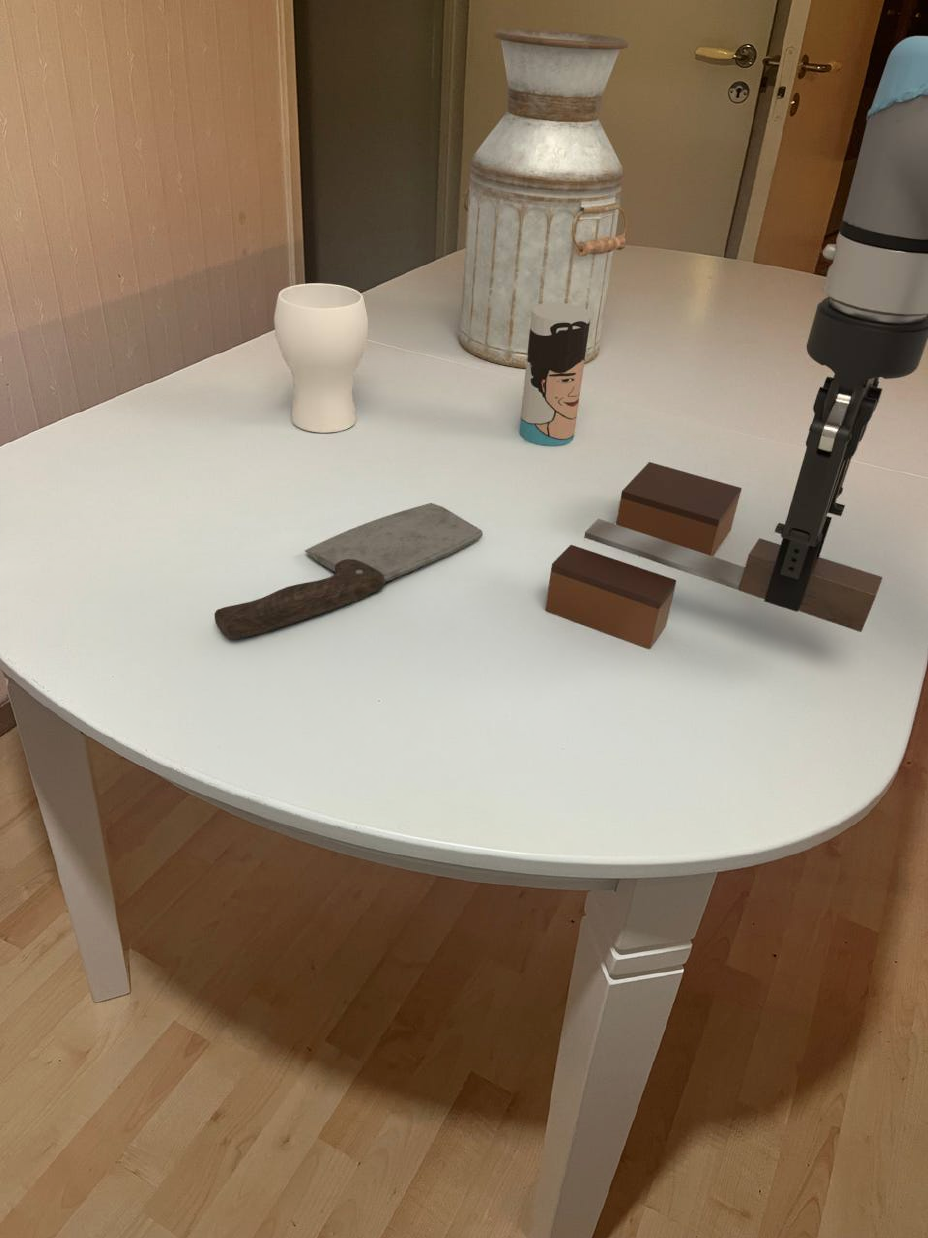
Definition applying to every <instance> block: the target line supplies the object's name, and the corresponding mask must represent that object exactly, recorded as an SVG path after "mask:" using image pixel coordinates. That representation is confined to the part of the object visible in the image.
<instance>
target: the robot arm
mask: <svg viewBox="0 0 928 1238" xmlns="http://www.w3.org/2000/svg"><path fill="white" fill-rule="evenodd" d="M872 101H873V102H872V105H871V107H870V108H869V110H868V111H867V115H866V125H865V129H864V133H863V138H862V141H861V146H860V150H859V154H858V158H857V162H856V166H855V170H854V174H853V178H852V182H851V186H850V188H849V193H848V197H847V201H846V204H845V208H844V212H843V215H842V219H841V221H840V225H839V227H838V234H837V237H836V241H835V242H836V243H827V245H826V246H825V247H824V249H823V251H822V256H823V258H824V259H827V260H831V261H833V262H832V264H830V265H829V267H828V268H827V269H828V270H827V272H826V273H827V274H826V276H825V280H824V284H823V288H822V290H823V291H824V294H825V295H826V296H827V297H825V298H824V299H822V300H821V301H820V302H819V303H818V304H817V306H816V310H815V314H814V318H813V321H812V323H811V327H810V331H809V335H808V339H807V342H806V352H807V354H808V356H809V358H810V359H811V360H812V361H814V362H816V363H817V364H819V365H821V366H825V367H827V368H828V369H830V370H831V371H832V372H833V373H834V374H833V377H832V376H828V375H827V376H826V378H825V381H824V383H823V386H820V387H819V389H818V391H817V393H816V397H815V400H814V403H813V407H812V411H813V414H814V415H813V418H812V422H811V424H810V426H809V428H808V435H807V438H806V440H805V447H806V449H805V453H804V455H803V459H802V463H801V466H800V470H799V473H798V477H797V481H796V483H795V488H794V491H793V495H792V498H791V502H790V505H789V509H788V512H787V515H786V519H785V523H782V522H778V523H777V525H776V526H775V528H774V533H777V534H780V536H781V538H782V540H781V543H780V545H781V546H780V549H779V553H778V556H777V559H776V563H775V566H774V570H773V573H772V576H771V580H770V583H769V587H768V590H767V593H766V597H765V599H763V602H765V603H768V604H771V605H774V606H776V607H781V608H783V609H786V610H790V611H792V612H796V613H798V612H799V611H798V610H799V608H800V605H801V602H802V598H803V595H804V592H805V589H806V586H807V583H808V580H809V577H810V574H811V571H812V568H813V565H814V562H815V558H816V556H818V557H821V553H822V550H823V547H824V543H825V540H826V537H827V534H828V531H829V528H830V525H831V523H832V519H833V517H832V516H829V515H828V514H831V515H834V516H838V517H842V515H843V512H844V510H845V507H846V504H842V503H838V502H837V499H838V498H839V496H841V495H842V494H843V490H844V488H843V485H844V482H845V479H846V476H847V473H848V470H849V467H850V464H851V461H852V459H853V457H854V455H855V454H856V452H857V449H858V447H859V444H860V442H861V441H862V440H863V437H864V435H865V433H866V431H867V428H868V425H869V422H870V421H871V419H872V417H873V414H874V412H875V411H876V409H877V406H878V404H879V402H880V399H881V395H882V392H883V388H882V387H878V386H879V384H880V380H879V379H880V378H883V379H884V380H892V379H899V378H903V377H904V378H905V377H907V376H909V375H911V374H913V373H914V372H915V371H916V370H917V369H918V367H919V365H920V363H921V359H922V357H923V354H924V351H925V348H926V345H927V342H928V35H913V36H909V37H906V38H904V39H902V40H901V41H899V42H898V43H897V44H896V45H895V46H894V47H893V48H892V50H891V51H890V54H889V55H888V57H887V61H886V64H885V66H884V69H883V72H882V74H881V78H880V81H879V84H878V87H877V89H876V92H875V96H874V98H873V100H872Z"/></svg>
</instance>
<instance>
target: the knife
mask: <svg viewBox="0 0 928 1238" xmlns="http://www.w3.org/2000/svg"><path fill="white" fill-rule="evenodd" d="M584 538H585V539H587V540H590V541H593V542H597V543H599V544H602V545H605V546H608V547H611V548H614V549H616V550H619V551H621V552H626V553H628V554H631V555H634V556H638V557H640V558H643V559H646V560H648V561H652V562H655V563H658V564H659V565H663V566H666V567H669V568H672V569H675V570H678V571H681V572H684V573H687V574H690V575H693V576H696V577H699V578H702V579H705V580H708V581H710V582H713V583H717V584H720V585H722V586H726V587H728V588H731V589H735V590H738V591H739V592H741V593H744V594H747V595H750V596H753V597H756V598H759V599H762V600H765V597H766V593H767V590H768V587H769V583H770V580H771V576H772V573H773V570H774V566H775V563H776V559H777V556H778V553H779V549H780V546H781V543H780V544H779V543H776V542H773V541H770V540H767V539H764V538H761V537H759V538H758V539H757V541H756V542H755V544H754V545H753V547H752V549H751V550H750V551H749V553H748V556H747V559H746V562H745V566H743V565H740V564H737V563H734V562H731V561H727V560H725V559H722V558H719V557H716V556H710V555H707V554H704V553H701V552H698V551H695V550H692V549H689V548H686V547H683V546H680V545H677V544H673V543H670V542H667V541H664V540H661V539H658V538H655V537H652V536H649V535H646V534H643V533H640V532H637V531H634V530H631V529H628V528H625V527H622V526H619V525H616V523H612V522H610V521H607V520H604V519H601V518H597V519H596V520H595V521H594V522H593V523H592V524H591V525H590V526H589V527H588V528H587V530H585V532H584ZM882 581H883V576H880V575H877V574H874V573H871V572H868V571H865V570H862V569H858V568H856V567H852V566H849V565H846V564H843V563H841V562H837V561H833V560H830V559H827V558H824V557H821V556H819V557H818V556H816V558H815V562H814V565H813V568H812V571H811V574H810V577H809V580H808V583H807V586H806V589H805V592H804V595H803V598H802V602H801V605H800V608H799V610H798V612H800V613H803V614H806V615H809V616H812V617H815V618H817V619H821V620H823V621H826V622H828V623H829V622H830V623H833V624H835V625H838V626H842V627H844V628H847V629H851V630H853V631H856V632H858V633H862V632H863V629H864V627H865V625H866V622H867V619H868V617H869V615H870V612H871V610H872V607H873V605H874V602H875V600H876V597H877V595H878V593H879V590H880V587H881V584H882Z"/></svg>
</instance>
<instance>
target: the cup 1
mask: <svg viewBox="0 0 928 1238" xmlns="http://www.w3.org/2000/svg"><path fill="white" fill-rule="evenodd" d="M273 321H274V322H273V323H274V336H275V339H276V341H277V342H276V343H277V344H278V347H279V348H278V349H279V350H280V354H281V356H282V358H283V360H284V362H285V363H286V366H287V367H288V369H289V370H290V372H291V377H292V382H293V388H294V395H293V404H292V412H291V421H292V423H293V425H294V426H296V427H297V428H299V429H300V430H301V429H302V430H304V431H307V432H313V433H323V434H326V433H328V434H329V433H336V432H342V431H345V430H348V429H349V428H351V427H353V426H354V425H355V423H356V421H357V417H356V409H355V404H354V398H353V392H352V390H353V383H354V375H355V372H356V370H357V368H358V366H359V364H360V362H361V360H362V359H363V356H364V352H365V349H366V346H367V342H368V337H369V317H368V312H367V308H366V304H365V300H364V296H363V295H362V293H361V292H359V291H358V290H357V289H354V288H352V287H348V286H345V285H340V284H335V283H321V282H315V283H301V284H296V285H290V286H287V287H285V288H283V289H281V290H280V291H279V292H278V296H277V299H276V305H275V310H274V316H273Z"/></svg>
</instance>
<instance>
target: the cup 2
mask: <svg viewBox="0 0 928 1238" xmlns="http://www.w3.org/2000/svg"><path fill="white" fill-rule="evenodd" d="M590 319H591V313H590V312H589V311H588V310H586V309H585V308H582V307H580V306H576V305H572V304H566V303H542V304H538V305H536V306H534V307H533V308H532V314H531V324H530V333H529V343H528V353H527V362H526V368H525V373H524V382H523V383H524V384H523V390H522V391H523V392H522V402H521V412H520V421H519V429H518V430H519V432H518V434H519V436H520V437H521V439H524V440H525V441H527V442H528V443H531V444H535V445H538V446H544V447H560V446H565V445H568V444H570V443H571V442H572V441H574V437H575V430H576V424H577V416H578V412H579V411H578V410H579V404H580V397H581V389H582V382H583V374H584V367H585V363H584V361H585V354H586V347H587V340H588V333H589V326H590Z"/></svg>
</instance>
